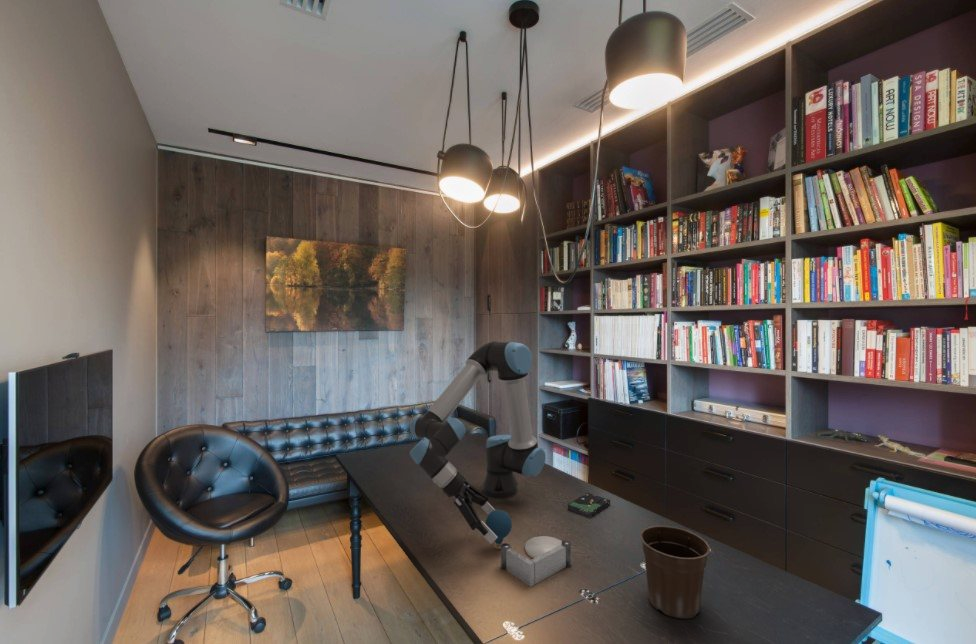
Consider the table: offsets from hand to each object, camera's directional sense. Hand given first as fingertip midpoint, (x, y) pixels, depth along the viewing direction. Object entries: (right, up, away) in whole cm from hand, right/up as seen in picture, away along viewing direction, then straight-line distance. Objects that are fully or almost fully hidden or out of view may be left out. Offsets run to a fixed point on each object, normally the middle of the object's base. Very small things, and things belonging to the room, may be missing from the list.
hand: (496, 529), depth 133 cm
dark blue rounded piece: (+1, -7, +1) cm, 7 cm away
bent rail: (+11, -6, -9) cm, 16 cm away
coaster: (+16, -6, 0) cm, 17 cm away
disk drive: (+36, -7, +30) cm, 47 cm away
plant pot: (+45, -7, -25) cm, 52 cm away
